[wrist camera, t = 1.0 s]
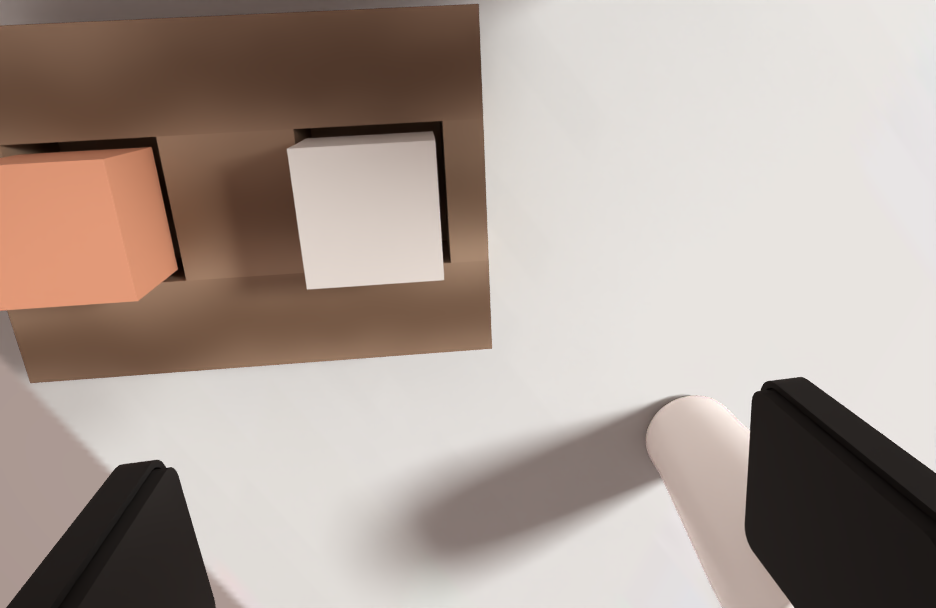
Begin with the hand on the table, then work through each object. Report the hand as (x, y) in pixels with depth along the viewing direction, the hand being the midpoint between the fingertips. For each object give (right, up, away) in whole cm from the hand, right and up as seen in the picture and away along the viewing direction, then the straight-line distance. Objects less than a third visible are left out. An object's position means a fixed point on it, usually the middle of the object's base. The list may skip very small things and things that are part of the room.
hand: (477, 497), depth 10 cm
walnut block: (-10, +9, +21) cm, 25 cm away
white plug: (-4, +8, +16) cm, 18 cm away
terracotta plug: (-15, +7, +15) cm, 22 cm away
